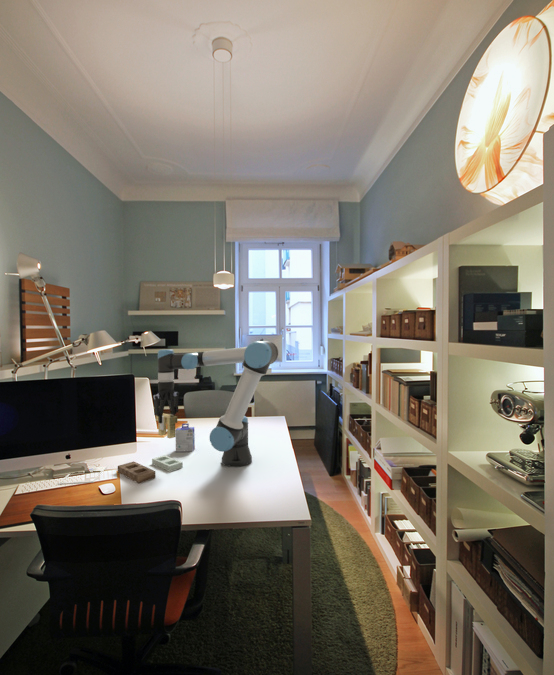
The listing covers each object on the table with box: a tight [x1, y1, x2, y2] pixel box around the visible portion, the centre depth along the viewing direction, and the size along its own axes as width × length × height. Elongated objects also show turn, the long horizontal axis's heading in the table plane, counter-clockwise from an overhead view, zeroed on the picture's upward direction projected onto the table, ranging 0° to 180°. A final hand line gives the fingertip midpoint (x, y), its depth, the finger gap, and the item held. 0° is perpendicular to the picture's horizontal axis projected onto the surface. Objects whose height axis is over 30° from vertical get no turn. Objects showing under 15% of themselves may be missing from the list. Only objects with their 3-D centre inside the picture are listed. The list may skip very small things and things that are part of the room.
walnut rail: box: [117, 461, 156, 484], centre depth 170 cm, size 20×8×3 cm, turn 48°
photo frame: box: [57, 466, 108, 485], centre depth 170 cm, size 15×1×18 cm
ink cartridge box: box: [175, 423, 196, 453], centre depth 206 cm, size 10×6×14 cm, turn 95°
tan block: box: [155, 412, 178, 439], centre depth 181 cm, size 12×4×10 cm, turn 48°
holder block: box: [151, 455, 183, 472], centre depth 181 cm, size 16×7×2 cm, turn 48°
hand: (166, 428), depth 181 cm, fingers closed on tan block, 4 cm apart
